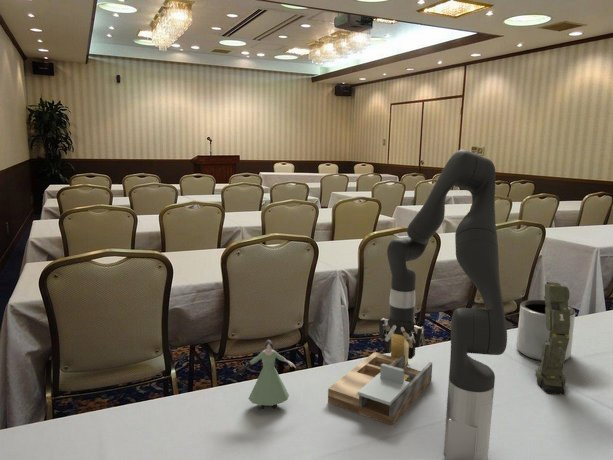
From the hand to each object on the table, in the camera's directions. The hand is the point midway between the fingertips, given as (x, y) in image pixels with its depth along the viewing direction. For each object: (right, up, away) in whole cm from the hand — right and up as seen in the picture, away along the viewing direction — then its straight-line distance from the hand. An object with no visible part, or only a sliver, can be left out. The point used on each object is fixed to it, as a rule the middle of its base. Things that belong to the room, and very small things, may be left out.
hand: (399, 355), depth 152 cm
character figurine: (-39, -7, -25) cm, 47 cm away
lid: (-9, -2, -27) cm, 28 cm away
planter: (+48, -2, +9) cm, 49 cm away
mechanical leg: (+40, -6, -11) cm, 42 cm away
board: (-8, -6, -16) cm, 19 cm away
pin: (0, -3, 0) cm, 3 cm away
